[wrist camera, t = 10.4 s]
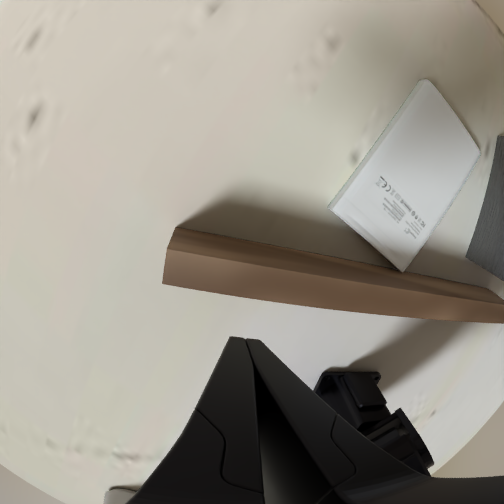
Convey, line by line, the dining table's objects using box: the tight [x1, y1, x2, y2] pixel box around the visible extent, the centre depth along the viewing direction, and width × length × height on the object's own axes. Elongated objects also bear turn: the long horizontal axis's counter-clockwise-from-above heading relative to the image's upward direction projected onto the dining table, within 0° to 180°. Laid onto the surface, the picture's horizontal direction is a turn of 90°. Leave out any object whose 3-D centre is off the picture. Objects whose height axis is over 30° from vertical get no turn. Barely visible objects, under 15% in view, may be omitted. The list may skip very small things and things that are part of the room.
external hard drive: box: [327, 79, 481, 273], centre depth 19 cm, size 2×8×12 cm
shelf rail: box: [162, 227, 504, 324], centre depth 20 cm, size 2×31×4 cm, turn 77°
